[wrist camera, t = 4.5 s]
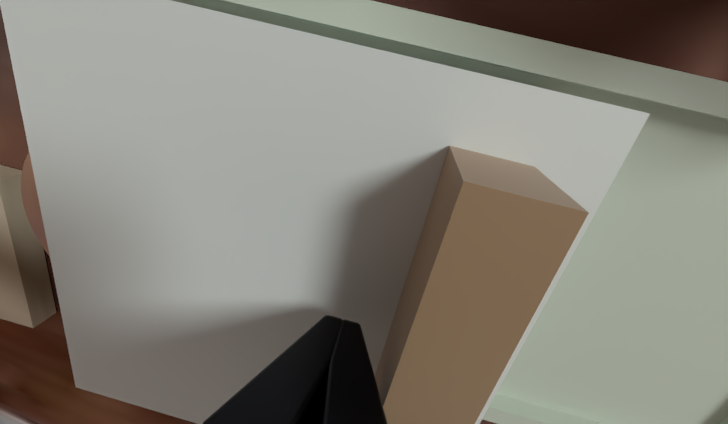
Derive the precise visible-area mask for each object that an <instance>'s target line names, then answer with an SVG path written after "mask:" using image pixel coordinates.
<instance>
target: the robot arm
mask: <svg viewBox="0 0 728 424" xmlns="http://www.w3.org/2000/svg"><path fill="white" fill-rule="evenodd" d="M203 424H388V423H387V420H386V416H385V412H384V409H383V405H382V401H381V398H380V394H379V391H378V387H377V383H376V380H375V376H374V372H373V369H372V365H371V361H370V358H369V354H368V350H367V347H366V343H365V339H364V336H363V332H362V328H361V326H360V324H359V323H357V322H353V321H349V320H345V319H344V320H342V319H341V318H338V317H334V316H331V315H325V316H324V317H322V318H321V319H320V320H319V321H318V322H317V323H316V324H314V325H313V326H312V327H311V328H310V329H309V330H308V331H307V332H305V333H304V334H303V335H302V336H301V337H300V338H299V339H297V340H296V341H295V342H294V343H293V344H292V345H291V346H289V347H288V348H287V349H286V350H285V351H284V352H283V353H281V354H280V355H279V356H278V357H277V358H276V359H275V360H273V361H272V362H271V363H270V364H269V365H268V366H267V367H265V368H264V369H263V370H262V371H261V372H260V373H259V374H257V375H256V376H255V377H254V378H253V379H252V380H251V381H249V382H248V383H247V384H246V385H245V386H244V387H243V388H241V389H240V390H239V391H238V392H237V393H236V394H235V395H233V396H232V397H231V398H230V399H229V400H228V401H227V402H225V403H224V404H223V405H222V406H221V407H220V408H219V409H217V410H216V411H215V412H214V413H213V414H212V415H211V416H209V417H208V418H207V419H206V420H205V421H204V422H203Z"/></svg>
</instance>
